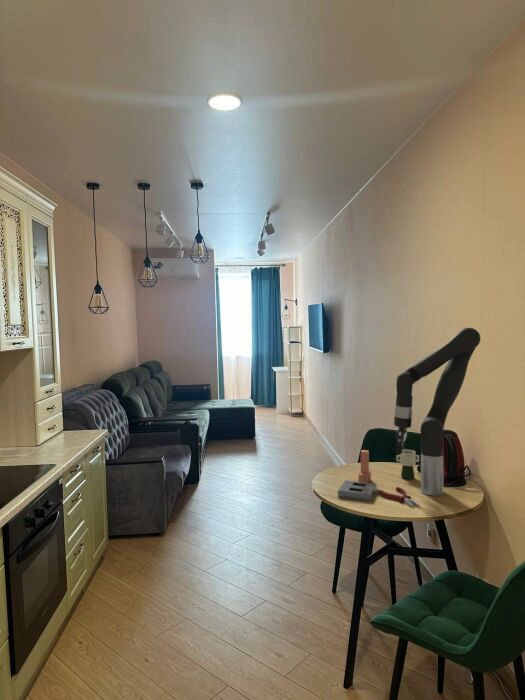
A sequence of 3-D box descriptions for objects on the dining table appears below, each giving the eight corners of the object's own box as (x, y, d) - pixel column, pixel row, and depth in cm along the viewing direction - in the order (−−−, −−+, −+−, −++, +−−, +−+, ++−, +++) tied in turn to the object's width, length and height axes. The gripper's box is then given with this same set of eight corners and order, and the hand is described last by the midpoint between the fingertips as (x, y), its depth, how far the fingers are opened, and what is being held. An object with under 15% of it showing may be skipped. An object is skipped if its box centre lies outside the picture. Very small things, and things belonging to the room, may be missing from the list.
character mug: (417, 475, 227) (417, 449, 226) (421, 480, 220) (421, 453, 219) (394, 475, 227) (394, 449, 227) (398, 480, 220) (398, 453, 219)
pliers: (405, 511, 184) (405, 505, 184) (376, 494, 203) (376, 488, 203) (428, 507, 188) (428, 501, 188) (398, 491, 207) (398, 485, 207)
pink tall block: (370, 479, 221) (370, 449, 220) (367, 485, 213) (367, 454, 212) (362, 478, 223) (362, 448, 222) (358, 484, 215) (358, 453, 214)
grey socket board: (376, 490, 207) (376, 484, 207) (370, 501, 194) (370, 494, 194) (345, 486, 213) (345, 480, 212) (338, 497, 200) (338, 490, 200)
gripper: (409, 420, 199) (407, 456, 200) (413, 414, 212) (411, 448, 213) (392, 417, 202) (389, 453, 203) (396, 412, 215) (394, 445, 216)
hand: (400, 451), depth 208 cm, fingers open, 8 cm apart
